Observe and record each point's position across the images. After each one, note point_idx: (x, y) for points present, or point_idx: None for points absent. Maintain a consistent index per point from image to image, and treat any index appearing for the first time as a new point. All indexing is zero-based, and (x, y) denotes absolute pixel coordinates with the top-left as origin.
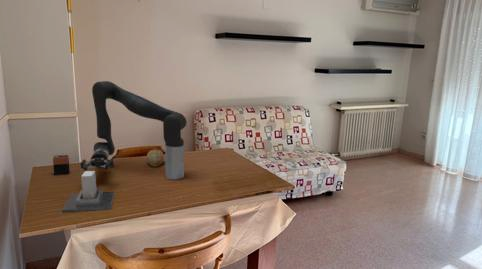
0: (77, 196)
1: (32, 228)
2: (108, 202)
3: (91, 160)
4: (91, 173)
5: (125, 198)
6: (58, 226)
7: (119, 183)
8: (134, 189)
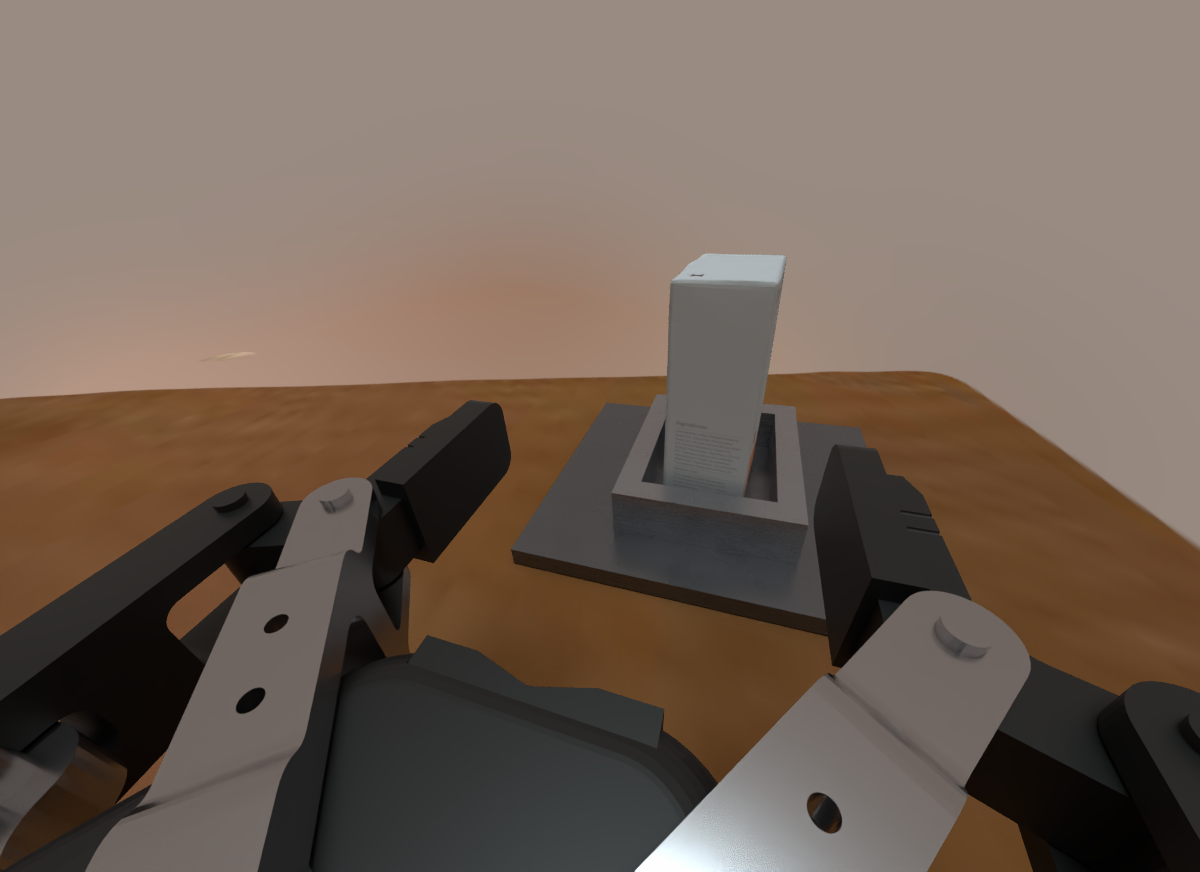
0: None
1: (928, 379)
2: (604, 433)
3: (781, 798)
4: (704, 264)
5: None
6: (819, 372)
7: None
8: None
